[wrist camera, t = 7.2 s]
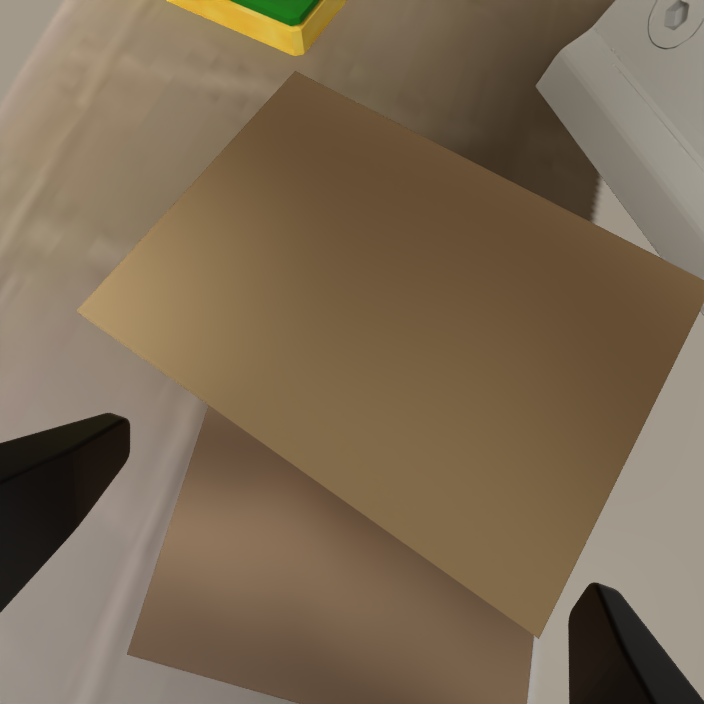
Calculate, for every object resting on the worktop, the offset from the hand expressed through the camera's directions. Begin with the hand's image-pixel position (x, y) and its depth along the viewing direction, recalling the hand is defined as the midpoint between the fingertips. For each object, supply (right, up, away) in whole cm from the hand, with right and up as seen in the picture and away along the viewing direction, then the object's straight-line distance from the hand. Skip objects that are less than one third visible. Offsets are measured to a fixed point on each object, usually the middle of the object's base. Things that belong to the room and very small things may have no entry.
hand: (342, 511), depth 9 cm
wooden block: (+1, 0, +8) cm, 8 cm away
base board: (+1, -2, +8) cm, 8 cm away
